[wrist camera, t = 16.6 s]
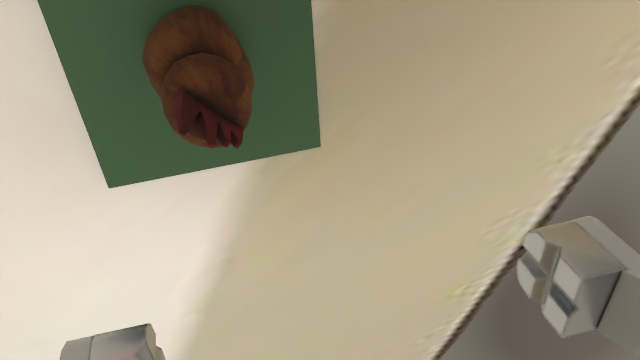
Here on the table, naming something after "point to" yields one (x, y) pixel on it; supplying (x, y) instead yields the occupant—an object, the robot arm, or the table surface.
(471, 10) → the table surface
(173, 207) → the table surface
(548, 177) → the table surface
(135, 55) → the mat
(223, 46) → the wooden figurine
